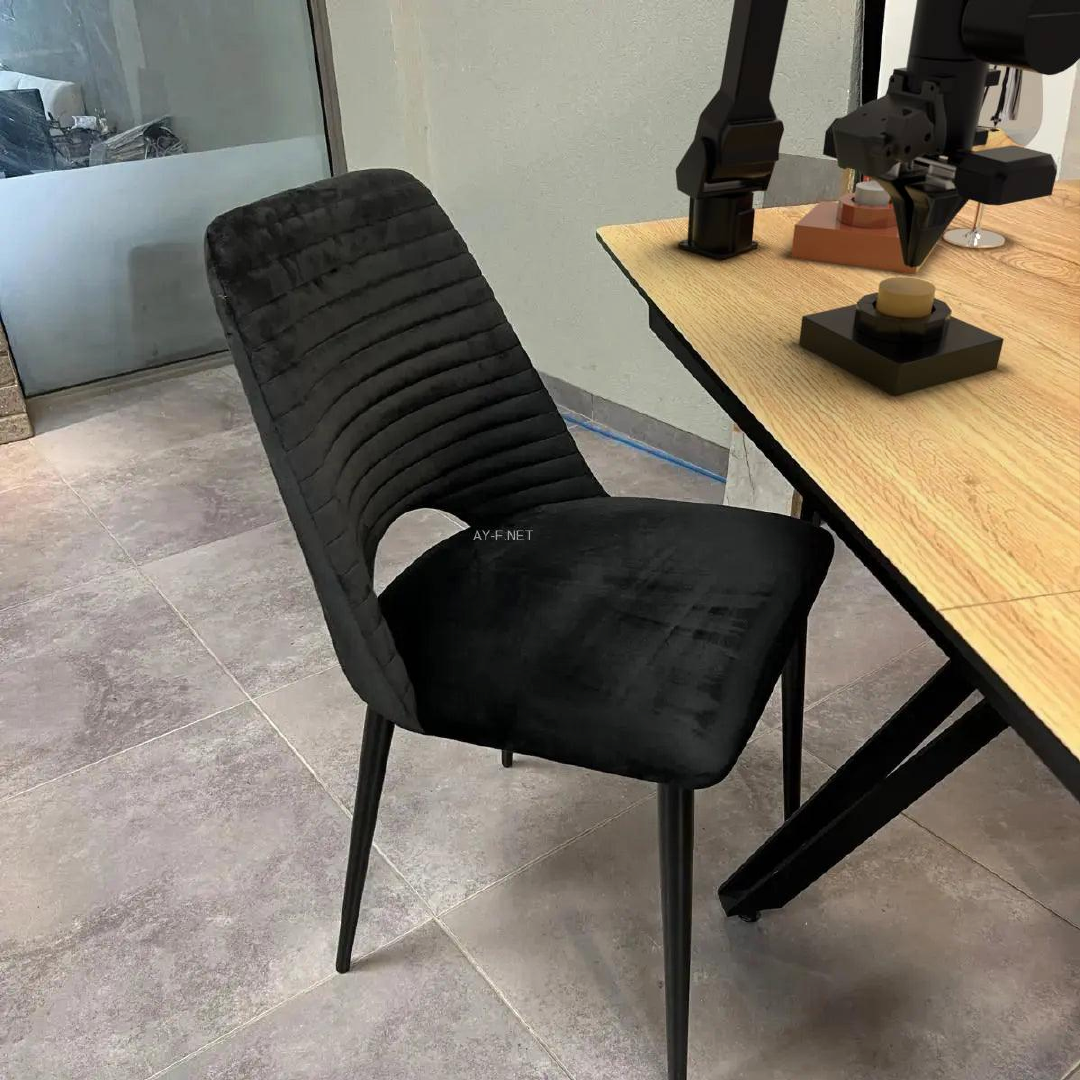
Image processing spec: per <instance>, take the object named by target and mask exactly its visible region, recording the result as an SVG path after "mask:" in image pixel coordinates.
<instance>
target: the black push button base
mask: <svg viewBox="0 0 1080 1080" xmlns="http://www.w3.org/2000/svg"><path fill="white" fill-rule="evenodd" d="M877 296H878V291H877V292H873V293H869V294H865V295H863V296H862V297H861V298H860V299H859V300H857V302H856V303H854V304H851V305H846V306H842V307H836V308H832V309H828V310H824V311H819V312H814V313H811V314H806V315H802V317H801V323H800V332H799V341H798V345H799V346H800V347H802V348H803V349H805V350H807V351H809V352H811V353H813V354H814V355H816V356H819V357H820V358H822V359H824V360H826V361H827V362H829V363H831V364H833V365H834V366H837V367H838V368H840V369H843V370H844V371H846V372H847V373H850V374H852V375H853V376H855V377H857V378H859V379H860V380H863V381H865V382H866V383H868V384H870V385H872V386H874V387H876V388H878V389H879V390H881V391H883V392H884V393H886V394H888V395H890V396H892V397H898V396H901V395H902V396H903V395H906V394H910V393H913V392H917V391H920V390H924V389H928V388H931V387H935V386H939V385H943V384H946V383H950V382H954V381H957V380H960V379H964V378H968V377H971V376H972V377H973V376H975V375H979V374H984V373H986V372H990V371H994V370H997V369H998V365H999V361H1000V357H1001V352H1002V348H1003V343H1004V340H1005V339H1004V338H1003V337H1001V336H999V335H997V334H995V333H991V332H990V331H987V330H985V329H983V328H980V327H977V326H975V325H973V324H970V323H968V322H965V321H964V320H962V319H959V318H958V317H954V316H952V313H953V312H952V309H951V308H950V306H949V305H948V303H947V302H945V301H943V300H941V299H939V298H936V297H934V300H933V305H932V310H931V315H928V316H923V317H919V318H911V317H897V316H892V315H887V314H884V313H882V312H880V311H878V310H876V302H877Z"/></svg>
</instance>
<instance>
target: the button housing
mask: <svg viewBox="0 0 1080 1080" xmlns="http://www.w3.org/2000/svg"><path fill="white" fill-rule="evenodd" d="M854 196H855V192H849V193H846V194H843V195H841V197H839V198H838V202H835V201H826V200H821V201H820V202H818V204H816V206H814V207H813V208H812V209H811V210H810V211H809V212H808V213H807V214H805V215H804V216H803V217H802V218H801V219H799V221H798V222H796V223H795V224H794V229H793V238H792V248H791V254H790V255H791V256H790V257H791V258H795V259H801V260H802V259H803V260H809V261H817V262H824V263H831V264H838V265H845V266H852V267H860V268H868V269H874V270H883V271H889V272H897V273H903V274H912V275H916V274H917V273H918V272H919V271H920V269H921V268H922V266H923V264H924V263H925V262H926V260H928V258H929V256H930V255H931V254H932V252H933V250H934V249H935V248H936V246H937V243H936V244H935V246H934V247H933V248H932V250H931V251H930V253H929V254H928V256H927V257H926V258H925V260H924V261H923V263H922V264H921V265H920V266H918V267H914V268H911V267H909V266H906V265H904V262H903V257H902V251H901V245H900V240H899V234H898V228H897V223H896V217H895V213H894V209H893V205H892V201H891V198H890V202H889V204H888V205H884V206H868V205H860V204H857V203H854Z"/></svg>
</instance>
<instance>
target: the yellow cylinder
mask: <svg viewBox="0 0 1080 1080" xmlns="http://www.w3.org/2000/svg"><path fill="white" fill-rule="evenodd" d="M936 290H937V289H936V286H935V285H934V284H933V283H932V282H929V281H927V280H924V279H920V278H916V277H905V276H904V277H902V276H901V277H900V276H898V277H889V278H886V279H882V280H881V281H880V282H879V285H878V291H877V292H878V296H877V302H876V310H878V311H880V312H882V313H884V314H887V315H892V316H897V317H911V318H919V317H923V316H928V315H931V310H932V305H933V300H934V298H935V295H936Z"/></svg>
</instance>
